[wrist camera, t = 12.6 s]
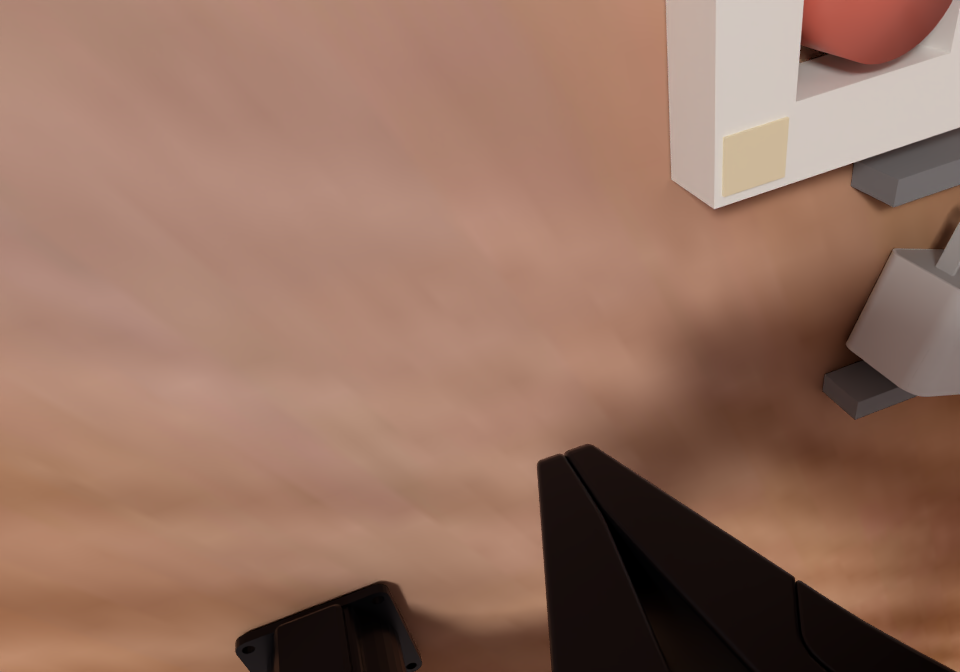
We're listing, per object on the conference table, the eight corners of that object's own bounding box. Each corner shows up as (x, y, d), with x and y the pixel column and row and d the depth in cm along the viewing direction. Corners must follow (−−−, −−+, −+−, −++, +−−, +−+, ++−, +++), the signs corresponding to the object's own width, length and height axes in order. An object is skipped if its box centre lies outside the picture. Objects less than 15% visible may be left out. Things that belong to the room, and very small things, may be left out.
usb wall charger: (838, 340, 29) (913, 398, 26) (915, 183, 25) (1013, 227, 22) (908, 338, 30) (988, 392, 27) (991, 188, 27) (1094, 230, 24)
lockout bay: (957, 340, 31) (998, 366, 30) (822, 391, 30) (856, 421, 29) (1024, 103, 25) (1081, 119, 23) (854, 159, 24) (901, 181, 22)
